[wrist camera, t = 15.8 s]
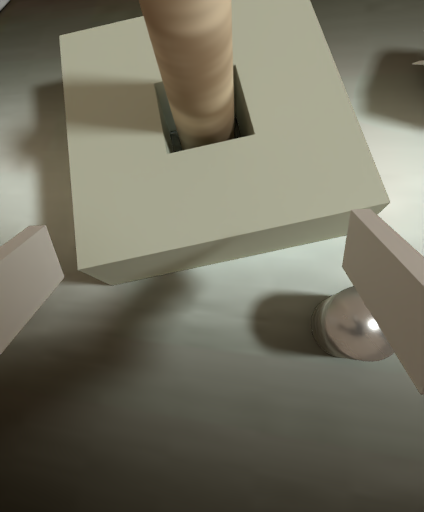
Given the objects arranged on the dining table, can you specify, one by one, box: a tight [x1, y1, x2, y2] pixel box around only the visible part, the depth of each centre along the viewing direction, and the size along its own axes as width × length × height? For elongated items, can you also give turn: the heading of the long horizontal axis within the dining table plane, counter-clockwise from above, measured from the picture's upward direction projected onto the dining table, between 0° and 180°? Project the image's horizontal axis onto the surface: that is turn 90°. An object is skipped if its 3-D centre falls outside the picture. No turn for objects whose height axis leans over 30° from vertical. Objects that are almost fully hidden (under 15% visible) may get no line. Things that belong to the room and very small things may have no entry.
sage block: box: [59, 0, 390, 285], centre depth 23 cm, size 18×18×5 cm
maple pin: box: [139, 0, 235, 150], centre depth 18 cm, size 4×4×14 cm
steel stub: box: [311, 286, 394, 361], centre depth 19 cm, size 4×4×4 cm
